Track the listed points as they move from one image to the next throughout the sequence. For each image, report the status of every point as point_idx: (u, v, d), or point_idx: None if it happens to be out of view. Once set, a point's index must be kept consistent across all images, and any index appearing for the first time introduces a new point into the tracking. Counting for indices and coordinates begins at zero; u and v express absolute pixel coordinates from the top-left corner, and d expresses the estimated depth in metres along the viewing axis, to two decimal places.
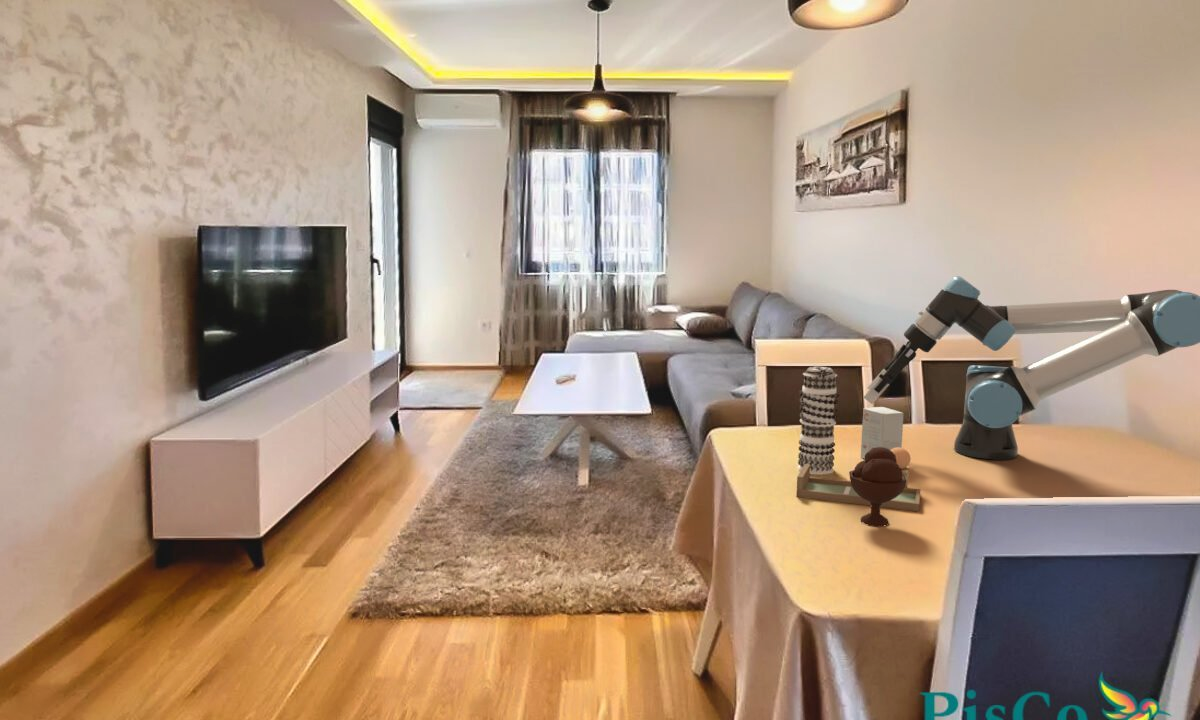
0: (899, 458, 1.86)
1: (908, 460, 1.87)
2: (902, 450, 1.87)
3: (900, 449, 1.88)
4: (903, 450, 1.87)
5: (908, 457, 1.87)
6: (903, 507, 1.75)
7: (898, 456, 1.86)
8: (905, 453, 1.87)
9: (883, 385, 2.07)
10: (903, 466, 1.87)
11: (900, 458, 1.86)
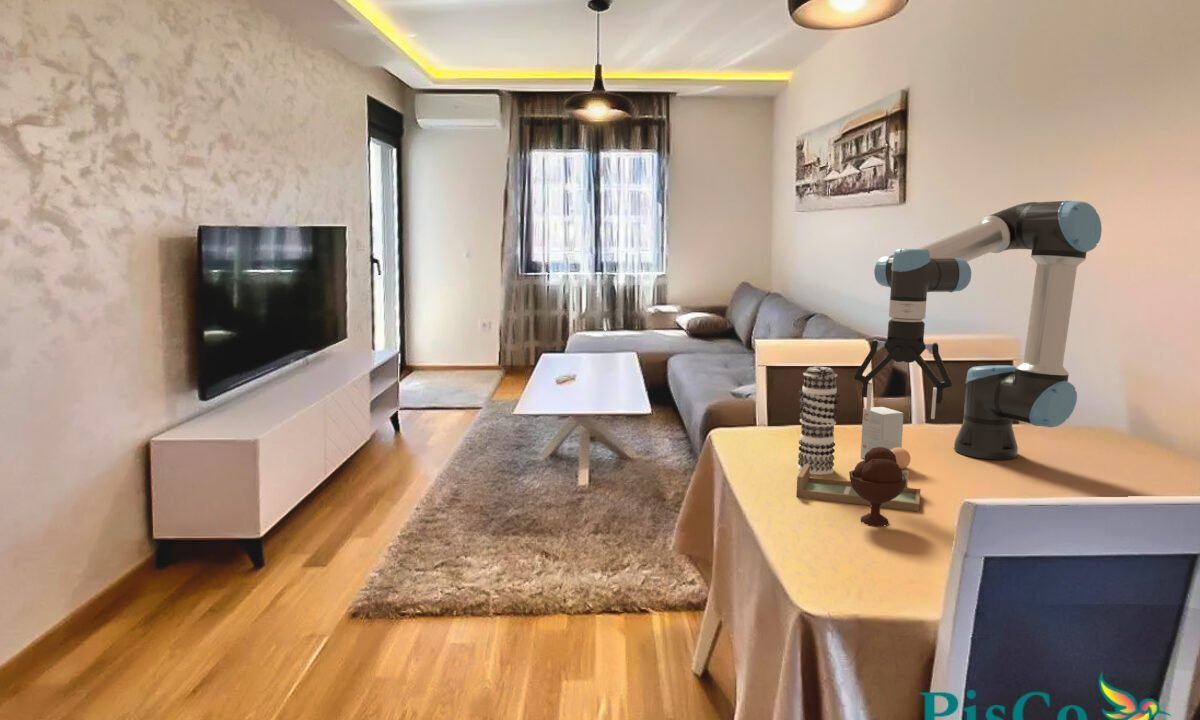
0: (899, 458, 1.86)
1: (908, 460, 1.87)
2: (902, 450, 1.87)
3: (900, 449, 1.88)
4: (903, 450, 1.87)
5: (908, 457, 1.87)
6: (903, 507, 1.75)
7: (898, 456, 1.86)
8: (905, 453, 1.87)
9: None
10: (903, 466, 1.87)
11: (900, 458, 1.86)
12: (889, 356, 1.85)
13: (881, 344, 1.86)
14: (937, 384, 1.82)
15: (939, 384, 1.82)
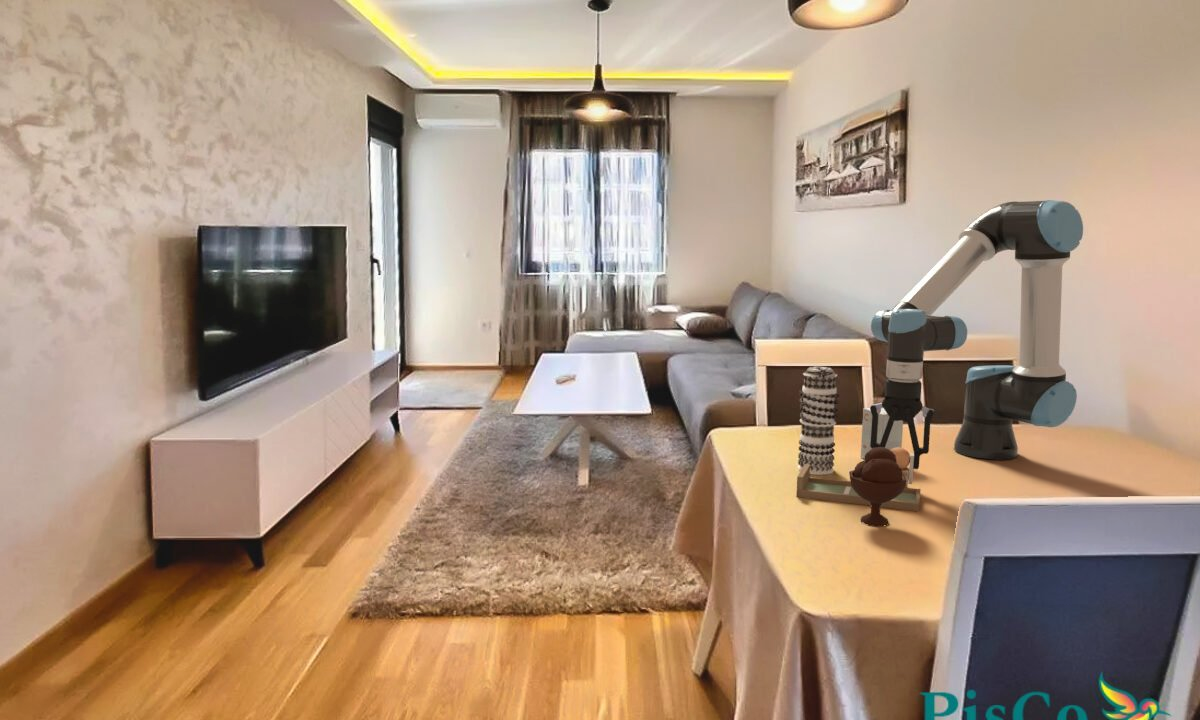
0: (899, 458, 1.86)
1: (908, 460, 1.87)
2: (902, 450, 1.87)
3: (900, 449, 1.88)
4: (903, 450, 1.87)
5: (908, 457, 1.87)
6: (903, 507, 1.75)
7: (899, 456, 1.86)
8: (905, 453, 1.87)
9: (919, 458, 1.87)
10: (903, 466, 1.87)
11: (900, 458, 1.86)
12: (891, 418, 1.86)
13: (879, 406, 1.88)
14: (915, 450, 1.86)
15: (917, 451, 1.86)
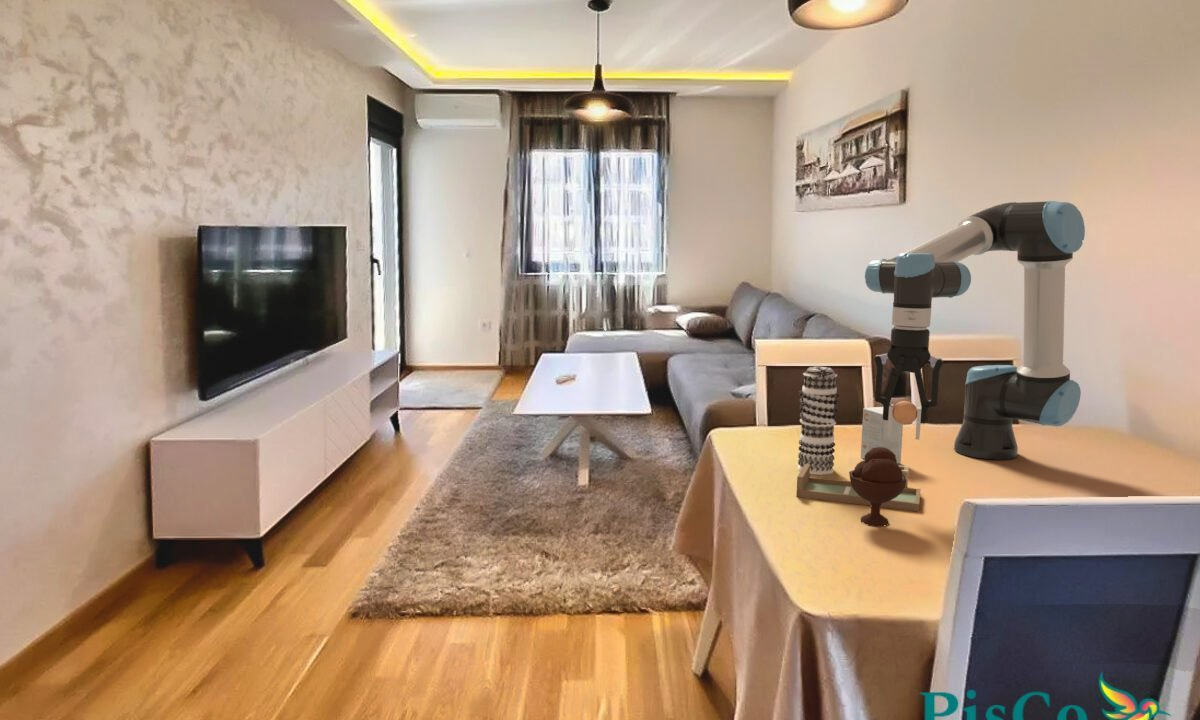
0: (906, 412, 1.75)
1: (915, 414, 1.76)
2: (908, 403, 1.76)
3: (906, 402, 1.77)
4: (909, 403, 1.76)
5: (915, 411, 1.76)
6: (903, 507, 1.75)
7: (905, 410, 1.75)
8: (912, 406, 1.76)
9: (926, 412, 1.76)
10: (909, 420, 1.76)
11: (907, 412, 1.75)
12: (897, 369, 1.75)
13: (884, 357, 1.77)
14: (923, 403, 1.75)
15: (925, 403, 1.75)
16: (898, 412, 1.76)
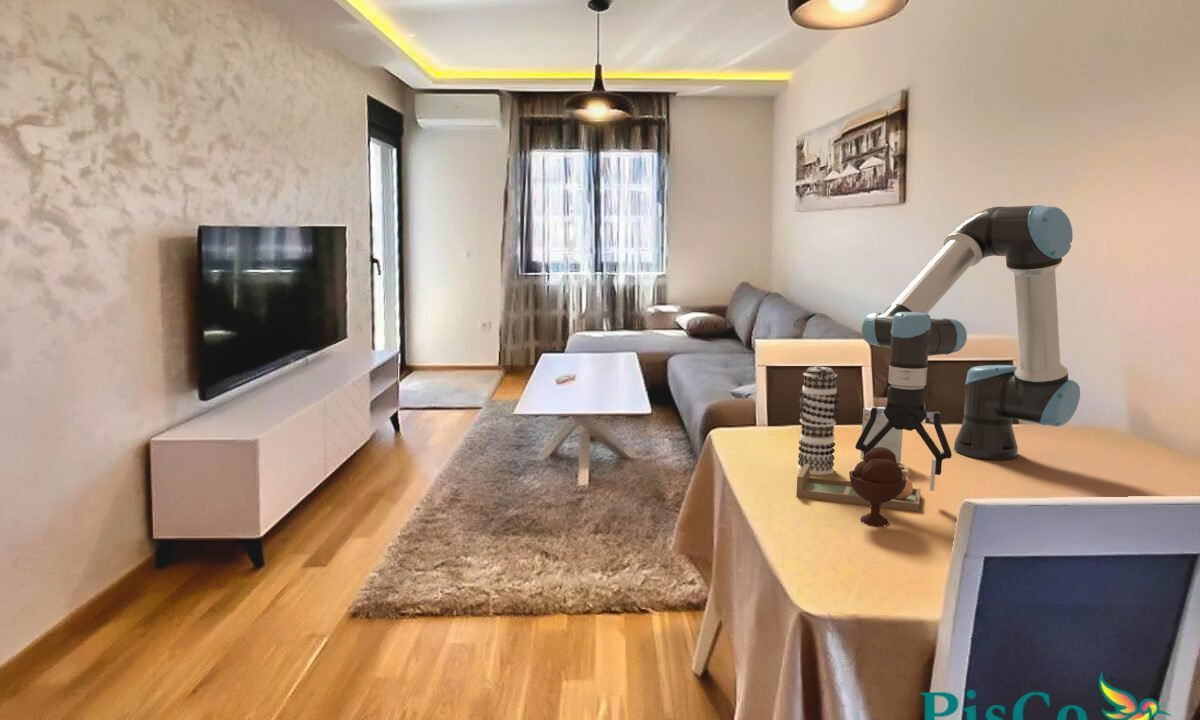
0: None
1: (910, 489, 1.78)
2: None
3: None
4: None
5: (910, 486, 1.78)
6: (903, 507, 1.75)
7: None
8: (907, 482, 1.78)
9: None
10: (905, 496, 1.78)
11: None
12: (889, 424, 1.78)
13: (880, 411, 1.79)
14: (936, 455, 1.75)
15: (938, 455, 1.75)
16: None
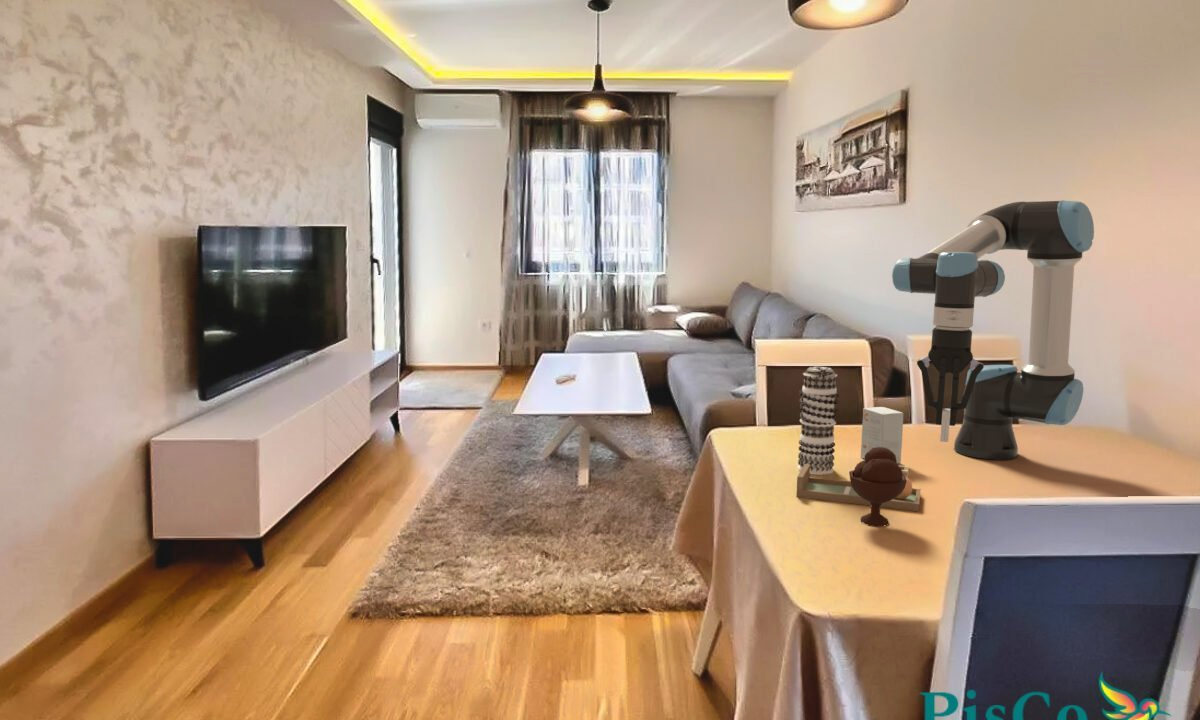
0: None
1: (910, 489, 1.78)
2: None
3: None
4: None
5: (909, 486, 1.78)
6: (903, 507, 1.75)
7: None
8: (906, 482, 1.78)
9: (955, 414, 1.74)
10: (905, 496, 1.78)
11: None
12: (941, 371, 1.72)
13: (926, 360, 1.74)
14: (953, 405, 1.73)
15: (955, 406, 1.73)
16: None
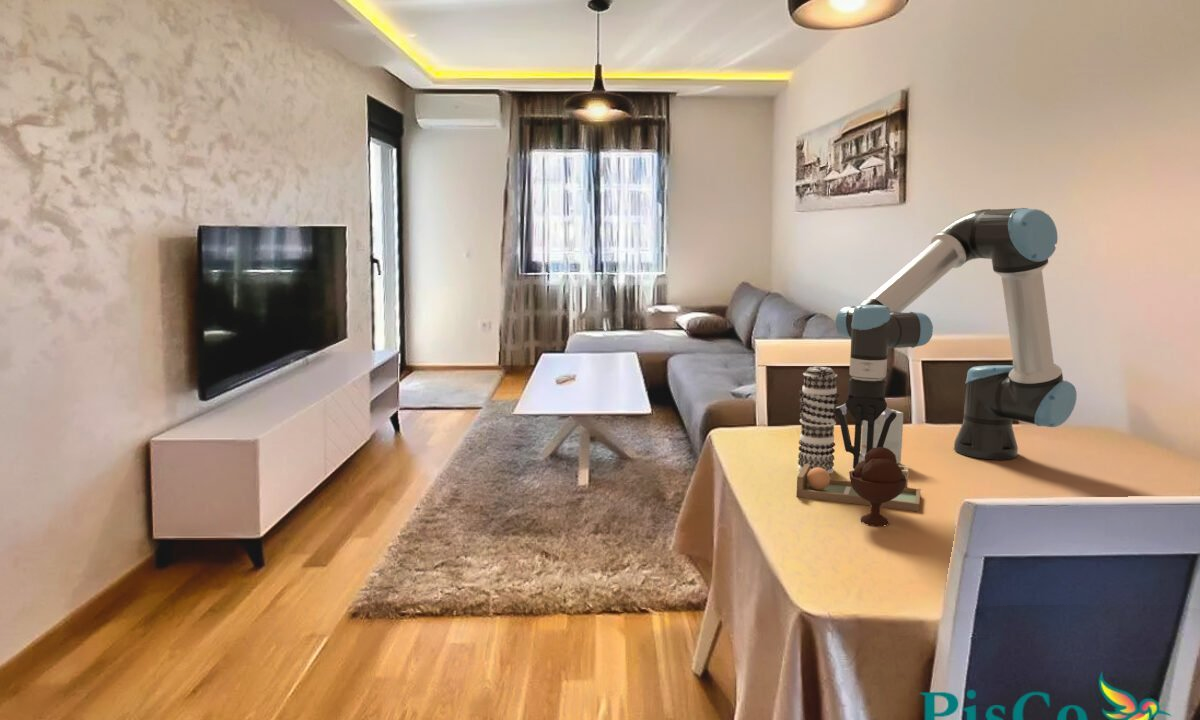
0: (818, 480, 1.84)
1: (826, 483, 1.84)
2: (822, 472, 1.84)
3: (821, 470, 1.85)
4: (824, 472, 1.84)
5: (827, 480, 1.84)
6: (903, 507, 1.75)
7: (817, 478, 1.84)
8: (825, 475, 1.84)
9: None
10: (820, 488, 1.84)
11: (819, 480, 1.84)
12: (857, 418, 1.80)
13: (843, 407, 1.82)
14: (868, 451, 1.80)
15: None
16: (811, 478, 1.84)
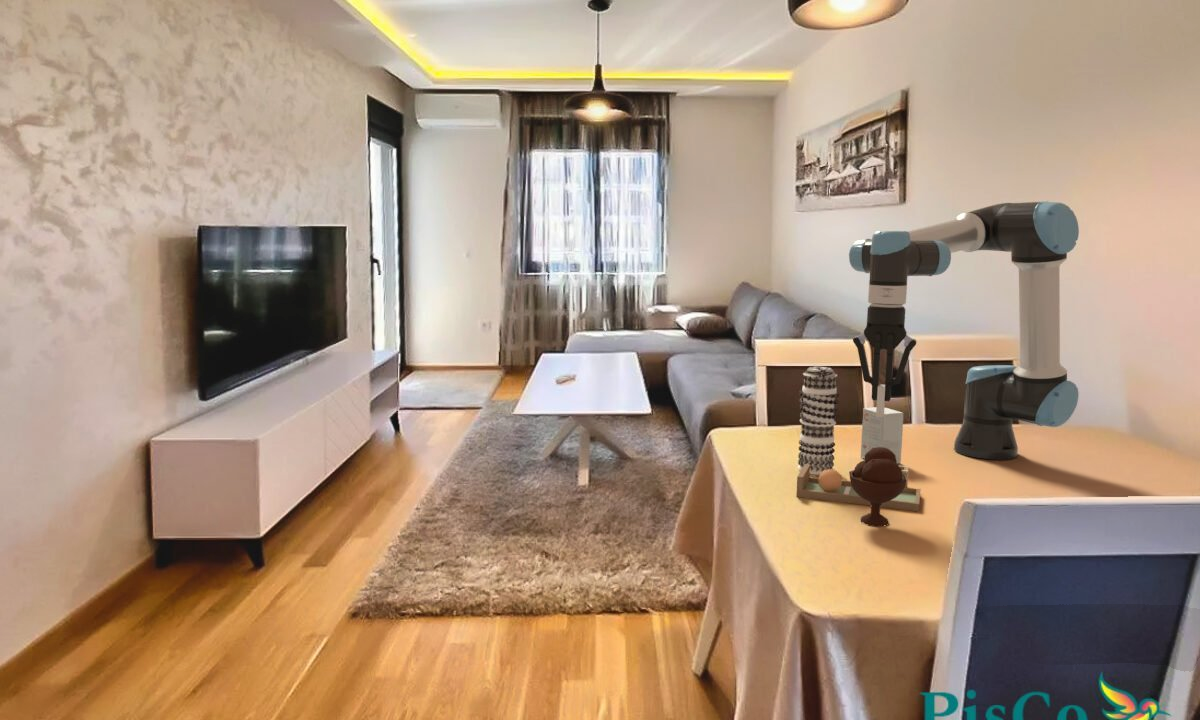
0: (830, 486, 1.82)
1: (831, 491, 1.84)
2: (838, 483, 1.83)
3: (839, 481, 1.83)
4: (839, 484, 1.83)
5: (834, 490, 1.83)
6: (903, 507, 1.75)
7: (831, 484, 1.82)
8: (837, 487, 1.83)
9: (890, 390, 1.78)
10: (823, 489, 1.84)
11: (830, 486, 1.82)
12: (876, 347, 1.76)
13: (862, 337, 1.78)
14: (887, 380, 1.77)
15: (889, 381, 1.77)
16: (827, 479, 1.83)
